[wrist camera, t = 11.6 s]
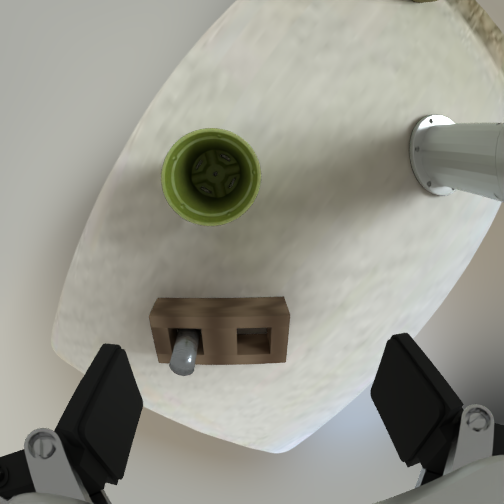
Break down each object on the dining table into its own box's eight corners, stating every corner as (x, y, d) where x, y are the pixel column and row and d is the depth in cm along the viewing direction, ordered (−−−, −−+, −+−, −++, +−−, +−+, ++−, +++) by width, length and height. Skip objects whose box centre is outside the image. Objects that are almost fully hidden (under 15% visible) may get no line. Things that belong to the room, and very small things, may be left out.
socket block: (283, 296, 39) (290, 314, 35) (280, 341, 42) (285, 362, 37) (157, 297, 38) (148, 316, 34) (165, 342, 41) (158, 362, 36)
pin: (200, 313, 39) (192, 357, 30) (202, 330, 40) (195, 376, 31) (180, 313, 39) (167, 356, 30) (182, 330, 40) (171, 375, 31)
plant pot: (200, 123, 31) (190, 111, 23) (268, 158, 33) (279, 157, 25) (166, 189, 34) (145, 199, 25) (231, 223, 36) (230, 243, 27)
